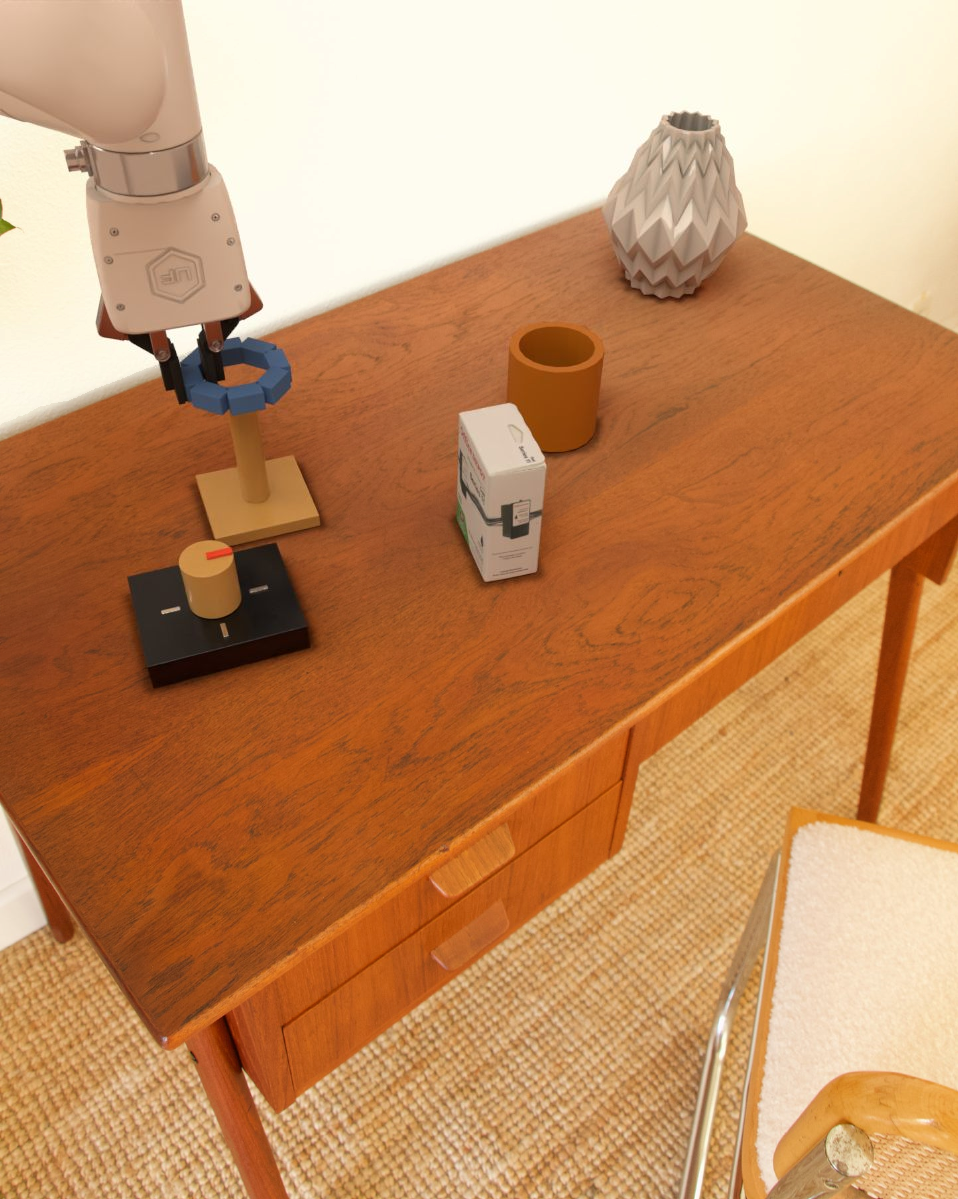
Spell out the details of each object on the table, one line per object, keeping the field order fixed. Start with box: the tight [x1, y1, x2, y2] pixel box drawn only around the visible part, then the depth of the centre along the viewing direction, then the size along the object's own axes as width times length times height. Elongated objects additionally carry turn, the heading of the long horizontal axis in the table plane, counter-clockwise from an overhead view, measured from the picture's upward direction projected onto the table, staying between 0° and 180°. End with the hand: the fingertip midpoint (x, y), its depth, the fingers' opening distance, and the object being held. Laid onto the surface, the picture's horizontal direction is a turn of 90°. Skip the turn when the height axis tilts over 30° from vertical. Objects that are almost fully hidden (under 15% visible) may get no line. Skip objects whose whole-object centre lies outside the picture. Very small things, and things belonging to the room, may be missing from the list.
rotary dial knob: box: [178, 539, 242, 619], centre depth 77 cm, size 4×4×5 cm
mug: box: [506, 321, 606, 453], centre depth 98 cm, size 9×12×9 cm
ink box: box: [456, 402, 548, 583], centre depth 84 cm, size 9×5×12 cm, turn 17°
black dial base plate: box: [126, 542, 311, 689], centre depth 80 cm, size 12×10×3 cm
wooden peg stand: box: [195, 410, 321, 547], centre depth 87 cm, size 9×9×11 cm
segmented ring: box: [179, 336, 293, 416], centre depth 81 cm, size 8×8×2 cm
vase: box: [601, 109, 749, 300], centre depth 114 cm, size 16×16×18 cm
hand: (196, 389), depth 81 cm, fingers closed on segmented ring, 2 cm apart
